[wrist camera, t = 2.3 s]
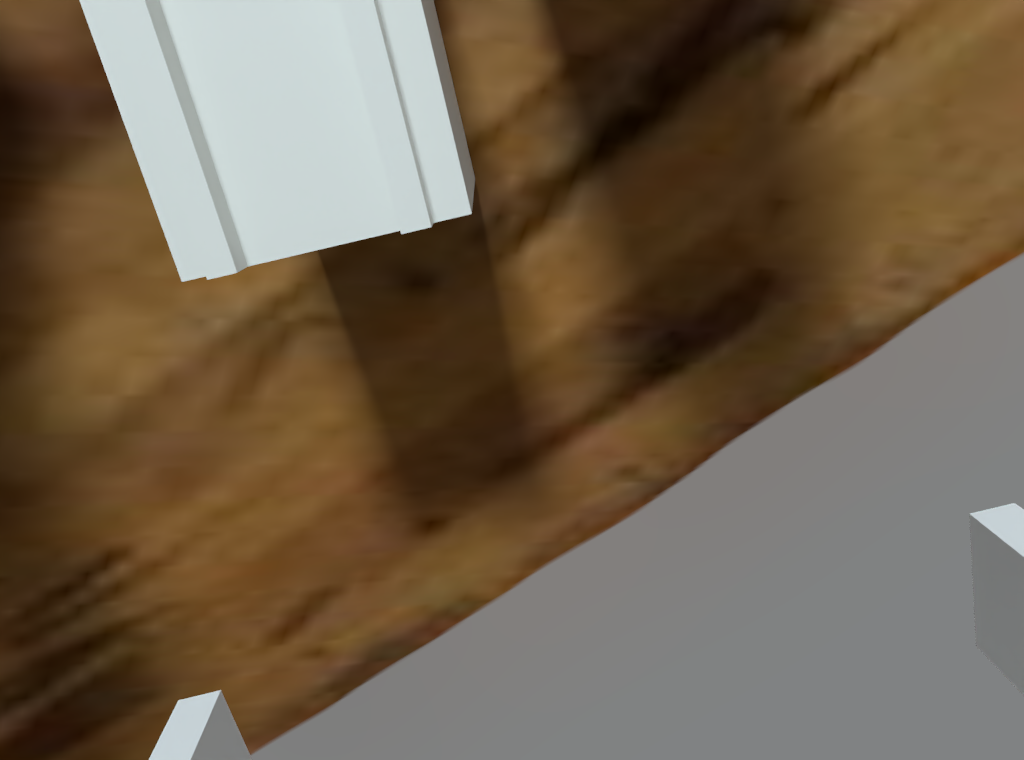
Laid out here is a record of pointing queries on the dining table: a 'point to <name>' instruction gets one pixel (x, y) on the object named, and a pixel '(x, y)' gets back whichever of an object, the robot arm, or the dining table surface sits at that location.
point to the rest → (285, 122)
